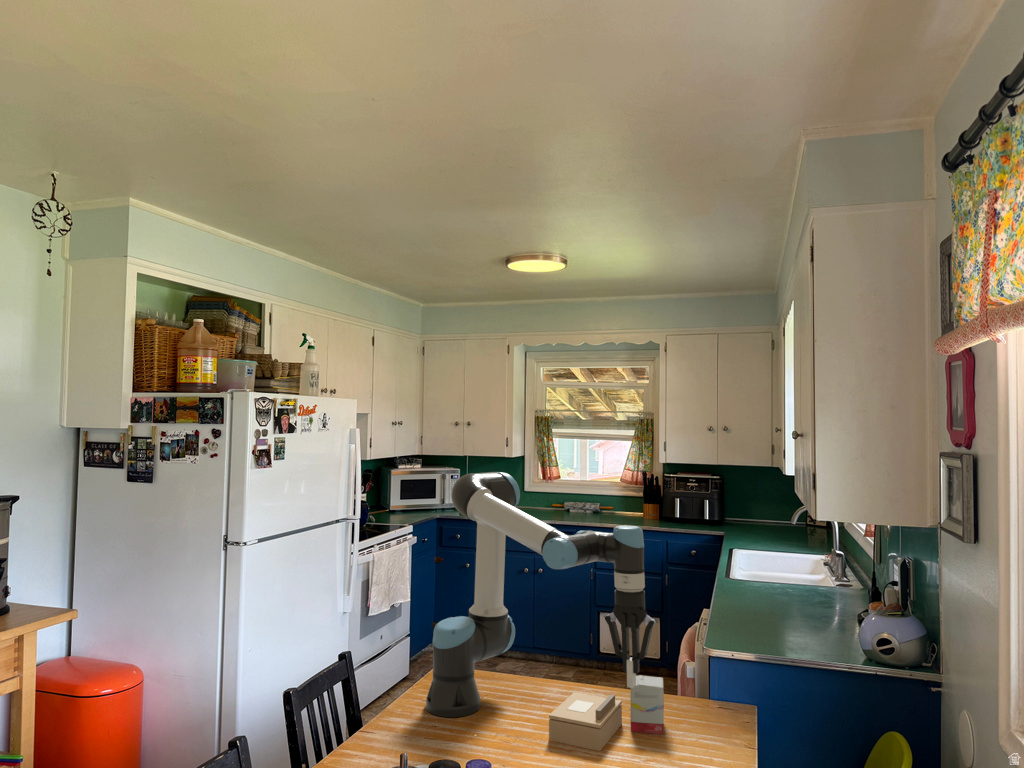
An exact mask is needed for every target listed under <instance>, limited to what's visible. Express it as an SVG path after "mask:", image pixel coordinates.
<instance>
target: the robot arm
mask: <svg viewBox="0 0 1024 768" xmlns="http://www.w3.org/2000/svg"><path fill="white" fill-rule="evenodd" d="M450 496H451V502H452V503H453V507H454V508H455V510H457V512H458V513H460V514H461V515H462V516H464V517H466V518H467V519H469V520H471V521H473V522H476V525H477V526H476V551H475V576H474V577H475V579H474V580H475V581H474V603H473V604H472V606H471V607H469V609H468V616H463V615H458V616H454V617H453V616H450V617H447V618H445V619H442V620H440V621H438V623H436V624H435V626H434V628H433V636H432V681H431V682H430V686H429V690H428V693H427V696H426V701H425V709H426V711H427V712H428V713H430V714H431V715H434V716H438V717H441V718H442V717H444V718H461V717H465V716H469V715H473V714H475V713H476V712H478V711H479V710H480V708H481V696H480V695H481V694H480V693H479V688H478V686H477V683H476V679H475V663H479V662H481V661H484V660H487V659H490V658H493V657H498V656H500V655H502V654H504V653H505V652H507V651H508V650H509V649H510V648H511V647H512V645H513V644H514V642H515V638H516V627H515V624H514V623H515V622H513V618H512V617H511V616H510V615H509V610H508V608H506V606H505V605H504V591H505V589H504V587H505V586H504V585H505V567H506V566H505V563H506V559H505V557H506V537H509V538H511V539H512V540H513V541H516V542H518V543H520V545H521V544H522V545H523V546H526V548H529V549H530V550H532V551H534V552H535V553H537V554H539V555H541V556H542V559H543V561H544V562H545V564H546V566H548V567H549V568H551V569H552V570H567V569H569V568H573V567H576V566H577V567H578V566H581V565H586V564H590V563H594V562H602V563H610V564H613V569H614V570H613V572H614V573H613V574H614V575H613V576H614V577H613V578H614V587H615V590H614V608H613V611H612V612H611V613H609V614H607V615H605V616H604V621H605V622H606V624H607V625H608V628H609V633H610V638H611V641H612V646H613V650H614V655H615V656H617V657H620V658H622V670H623V672H624V673H626V687H627V688H630V689H631V688H634V686H635V685H636V675H637V674H638V673H640V670H641V669H640V660H643V659H645V658H646V657H647V655H648V651H649V645H650V642H651V636H652V633H653V632H652V631H653V628H654V626H655V625H656V623H657V619H656V618H654V617H653V618H652V617H651V616H650V615H648V611H647V609H646V591H645V590H644V589H645V587H646V584H645V583H646V581H645V579H646V577H645V543H644V542H645V540H644V531H643V529H642V528H641V527H640V526H636V525H617V526H614V528H613V531H612V532H604V531H595V530H591V529H588V530H579V531H577V532H576V533H575V534H573V535H572V534H571V535H570V534H569V535H568V534H566V533H564V532H562V531H560V530H559V529H557V528H556V527H553V526H551V525H550V524H548V523H545V522H543V521H541V520H540V519H538V518H536V517H534V516H532V515H530V513H529V514H528V513H526V512H524V511H522V510H521V509H519V508H517V505H519V502H520V499H521V492H520V487H519V485H518V482H517V481H516V480H515V479H514V477H513V476H512V475H510V474H509V473H507V472H502V471H501V472H500V471H490V472H477V473H476V472H475V473H473V472H471V473H467V474H464V475H462V476H461V477H459V478H458V479H457V480H456V481H455V482H454V484H453V486H452V489H451V495H450ZM616 621H618V623H619V624H620V630H621V631H620V632H621V637H620V634H619V630H618V626H617V622H616ZM644 621H645V622H644ZM643 622H644V624H645V626H646V627H645V629H644V632H643V637H642V641H641V647H640V626H641V624H642V623H643ZM630 632H631V653H632V654H631V653H630ZM631 656H632V657H631Z"/></svg>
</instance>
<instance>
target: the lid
mask: <svg viewBox="0 0 1024 768" xmlns="http://www.w3.org/2000/svg"><path fill="white" fill-rule="evenodd" d="M622 703H623V702H622V700H620V699H616V694H613V693H610V694H609V695H608V697H605V696H597V695H592V694H586V693H581V692H575V691H574V692H573V693H571V694H570V695H569V696H568V697H567V698H566V699H565V700H564V701H562V703H560V704H559V705H558V706H557V707H556V708H555V709H554V710H553V711H551V713H549V714H548V719H555V720H560V721H565V722H570V723H575V724H580V725H585V726H591V727H596V728H601V727H602V726H603V725H604V723H605V722H606V721H607V720H608V719H609V718H610V717H611V715H612V714H613V713H614V712H615V711H616V710H617V709H618V707H619V706H620V705H622Z"/></svg>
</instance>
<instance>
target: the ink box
mask: <svg viewBox="0 0 1024 768" xmlns="http://www.w3.org/2000/svg"><path fill="white" fill-rule="evenodd" d="M664 689H665V688H664V678H663V677H659V676H658V677H657V676H651V675H650V676H649V675H641V674H639V675H637V674H636V685H635V686H634V688H630V731H631V732H632V733H642V734H656V735H664V733H665V731H664V729H665V710H664V709H665V708H664V707H665V700H664V699H665V698H664V693H665V692H664Z"/></svg>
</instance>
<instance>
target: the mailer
mask: <svg viewBox="0 0 1024 768" xmlns="http://www.w3.org/2000/svg"><path fill="white" fill-rule="evenodd" d="M622 711H623V705H622V704H621V705H620V706H619V707H618V709H617V710H616V711H615V712H614V713H613V714H612V715H611V717H610V718H609V719H608V720H607V721H606V722H605V723H604V725H603V726H602V727H601V728H596V727H591V726H585V725H580V724H575V723H570V722H565V721H560V720H555V719H550V718H548V741H551V742H554V743H555V742H556V743H559V744H564V745H569V746H574V747H579V748H584V749H589V750H593V751H598V752H601V751H602V750H603V749H604V747H605V746H606V745H608V744H607V743H608V742H609V741H610V740H611V739H612V737H613V736H614V735H615V734H616V733H617V732H618V730H619V729H620V728H621V726H622V725H623V713H622ZM619 727H620V728H619Z"/></svg>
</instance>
